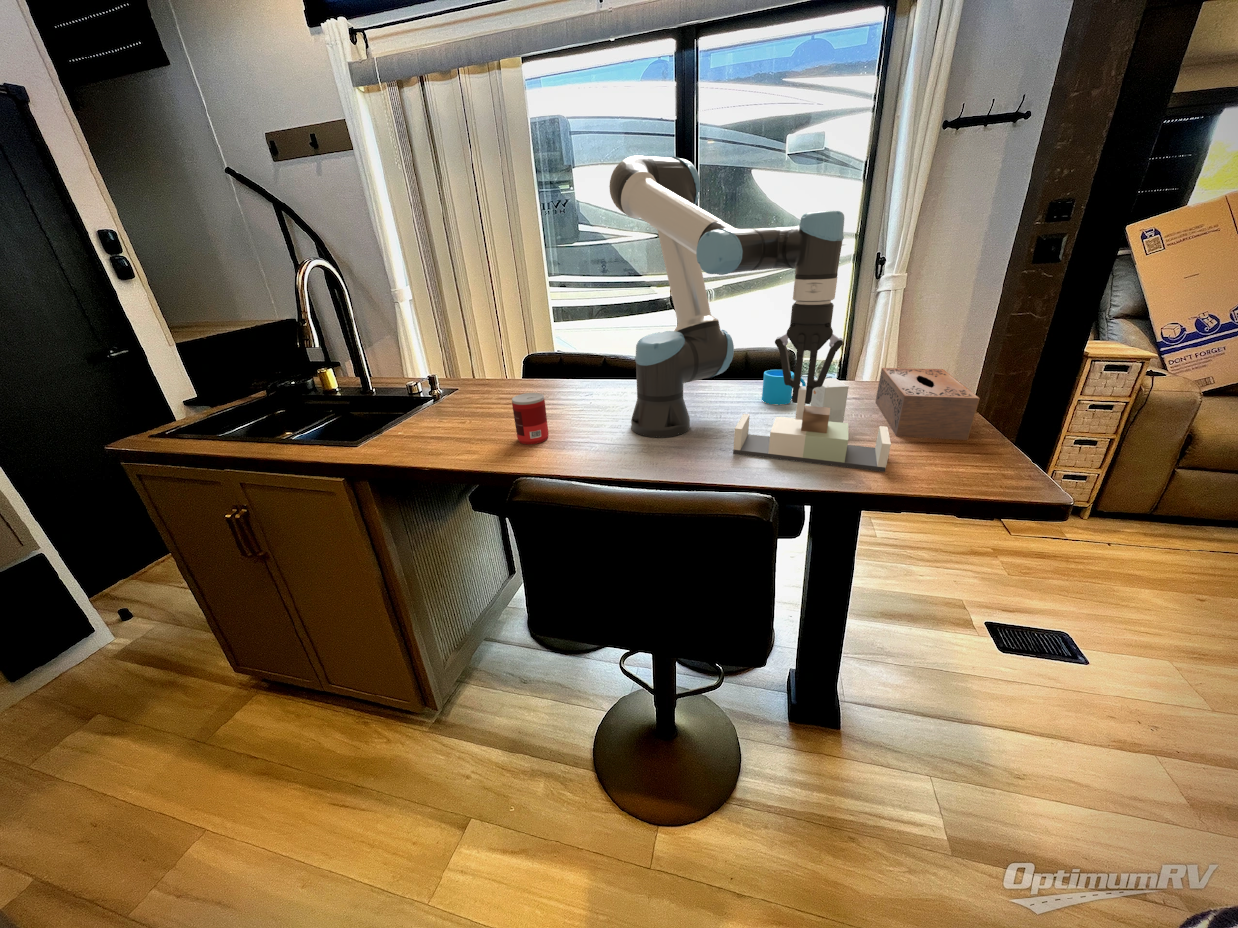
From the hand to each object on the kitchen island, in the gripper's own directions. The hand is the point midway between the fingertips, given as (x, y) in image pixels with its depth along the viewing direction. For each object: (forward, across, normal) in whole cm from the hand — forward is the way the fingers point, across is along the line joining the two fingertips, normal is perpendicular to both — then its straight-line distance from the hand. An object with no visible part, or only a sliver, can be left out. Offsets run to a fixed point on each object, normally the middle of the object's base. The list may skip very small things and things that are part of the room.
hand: (799, 417), depth 100 cm
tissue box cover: (+9, +26, +30) cm, 41 cm away
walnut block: (+2, +3, 0) cm, 4 cm away
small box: (+8, +5, +21) cm, 23 cm away
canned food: (+8, -62, -11) cm, 63 cm away
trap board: (+8, +2, 0) cm, 8 cm away
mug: (+8, -7, +37) cm, 39 cm away
